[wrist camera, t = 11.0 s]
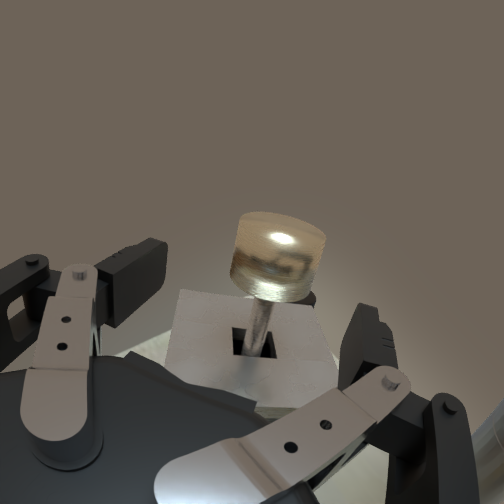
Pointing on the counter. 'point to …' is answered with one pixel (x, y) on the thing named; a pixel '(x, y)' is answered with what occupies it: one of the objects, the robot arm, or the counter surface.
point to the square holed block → (244, 367)
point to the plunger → (273, 267)
